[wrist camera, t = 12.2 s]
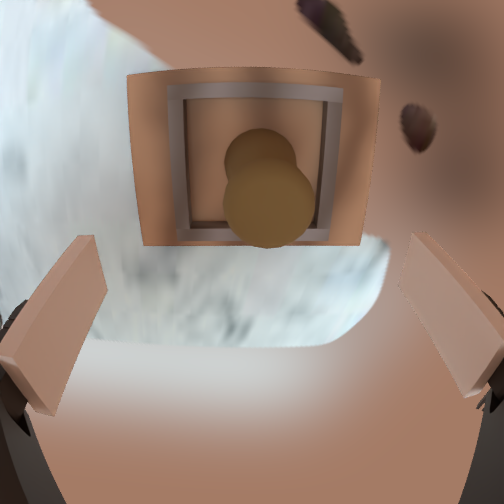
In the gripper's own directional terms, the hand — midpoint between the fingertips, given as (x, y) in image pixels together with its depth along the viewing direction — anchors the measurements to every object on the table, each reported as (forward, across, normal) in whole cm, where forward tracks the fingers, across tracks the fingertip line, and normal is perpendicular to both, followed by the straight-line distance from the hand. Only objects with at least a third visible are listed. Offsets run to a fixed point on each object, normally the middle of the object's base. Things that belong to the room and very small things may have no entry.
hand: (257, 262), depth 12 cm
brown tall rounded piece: (+16, +1, 0) cm, 16 cm away
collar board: (+17, +1, 0) cm, 17 cm away
